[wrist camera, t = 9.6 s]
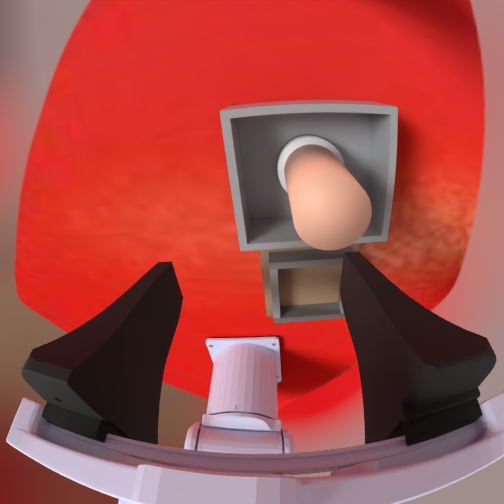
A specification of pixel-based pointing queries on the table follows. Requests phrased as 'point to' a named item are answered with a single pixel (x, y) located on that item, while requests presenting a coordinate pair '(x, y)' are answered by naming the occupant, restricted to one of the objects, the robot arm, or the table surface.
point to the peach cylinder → (322, 193)
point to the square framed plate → (303, 283)
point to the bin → (280, 132)
